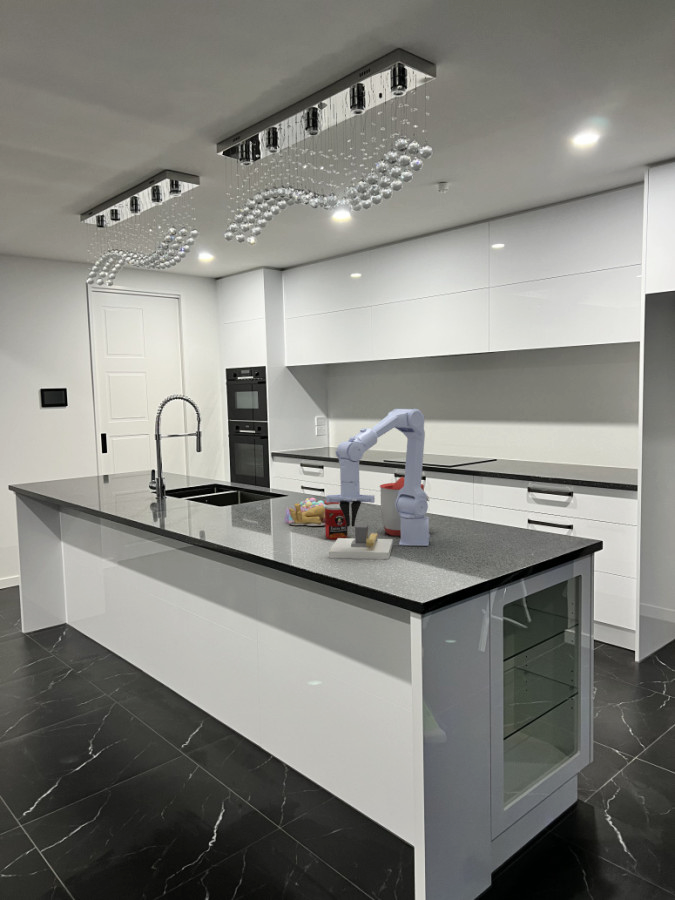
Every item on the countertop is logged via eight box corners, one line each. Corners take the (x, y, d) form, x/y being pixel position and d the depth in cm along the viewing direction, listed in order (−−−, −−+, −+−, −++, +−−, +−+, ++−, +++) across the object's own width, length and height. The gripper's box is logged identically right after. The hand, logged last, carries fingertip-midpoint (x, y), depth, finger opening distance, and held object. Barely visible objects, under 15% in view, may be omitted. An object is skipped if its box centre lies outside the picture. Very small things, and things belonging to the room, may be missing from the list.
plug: (372, 548, 212) (372, 524, 212) (370, 552, 207) (370, 528, 206) (353, 547, 213) (353, 524, 213) (351, 552, 207) (350, 528, 207)
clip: (377, 538, 217) (377, 529, 217) (373, 549, 202) (372, 539, 202) (371, 538, 217) (371, 529, 217) (366, 549, 203) (366, 539, 202)
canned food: (328, 540, 226) (328, 508, 225) (323, 536, 233) (322, 504, 232) (350, 539, 228) (350, 507, 227) (344, 534, 235) (343, 503, 234)
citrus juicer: (428, 539, 225) (428, 480, 224) (377, 537, 229) (376, 479, 227) (431, 529, 241) (431, 474, 239) (383, 528, 244) (382, 473, 242)
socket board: (392, 545, 217) (392, 539, 217) (388, 559, 200) (388, 552, 200) (337, 544, 220) (337, 538, 220) (328, 557, 203) (328, 551, 202)
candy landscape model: (345, 527, 248) (345, 503, 247) (282, 528, 248) (281, 504, 248) (346, 515, 273) (346, 492, 272) (288, 516, 273) (288, 493, 272)
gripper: (323, 483, 199) (324, 528, 200) (372, 483, 197) (373, 528, 198) (327, 479, 206) (328, 523, 207) (374, 480, 204) (375, 524, 205)
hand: (350, 525), depth 203 cm, fingers closed
